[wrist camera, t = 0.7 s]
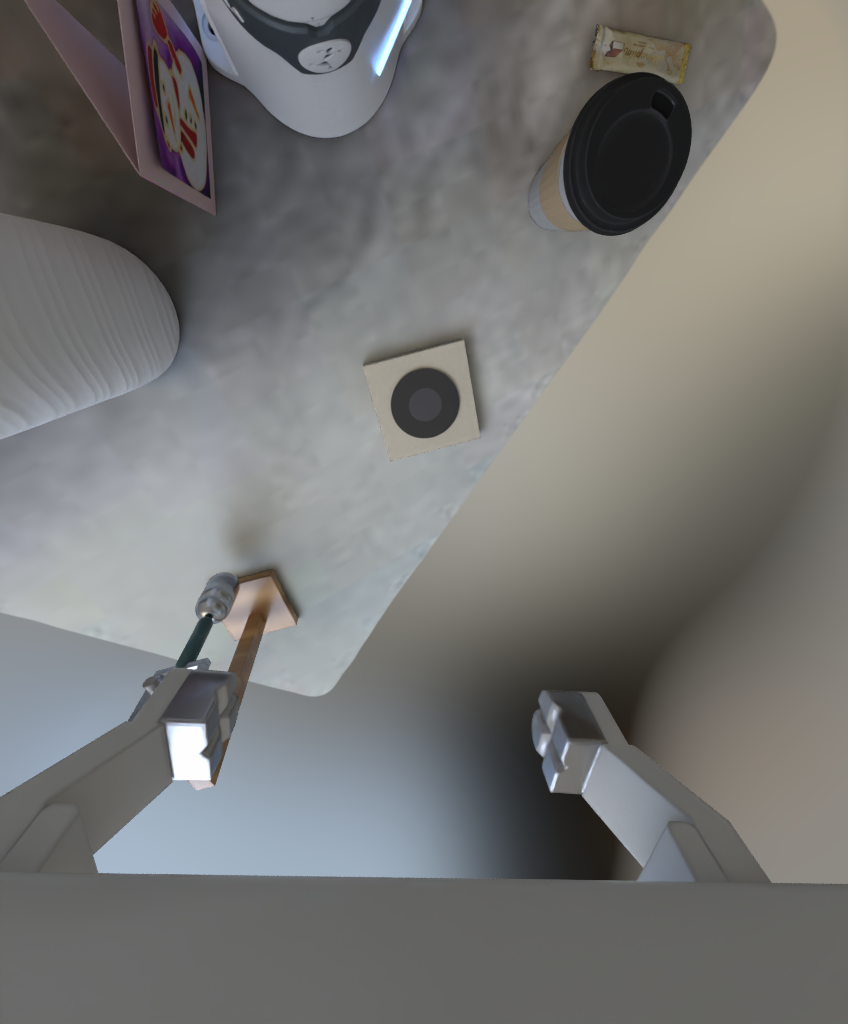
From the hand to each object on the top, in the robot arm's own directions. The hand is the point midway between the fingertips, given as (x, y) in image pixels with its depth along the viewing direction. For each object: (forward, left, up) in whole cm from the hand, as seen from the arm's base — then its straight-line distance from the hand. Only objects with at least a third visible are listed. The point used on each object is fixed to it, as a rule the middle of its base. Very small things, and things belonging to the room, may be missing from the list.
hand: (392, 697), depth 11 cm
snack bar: (-22, +32, -43) cm, 58 cm away
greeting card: (-26, -11, -43) cm, 52 cm away
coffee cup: (-14, +23, -43) cm, 51 cm away
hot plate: (+3, +5, -43) cm, 44 cm away
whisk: (+19, -27, -41) cm, 52 cm away
